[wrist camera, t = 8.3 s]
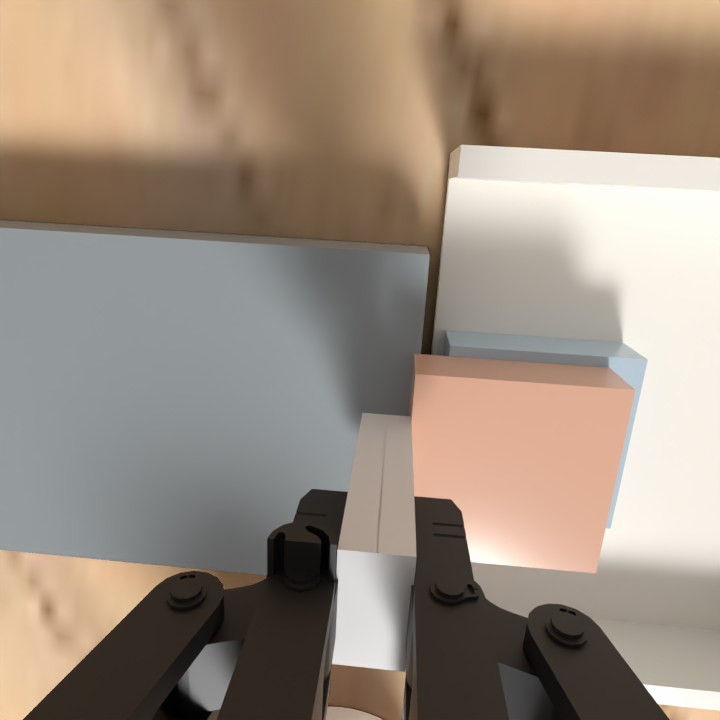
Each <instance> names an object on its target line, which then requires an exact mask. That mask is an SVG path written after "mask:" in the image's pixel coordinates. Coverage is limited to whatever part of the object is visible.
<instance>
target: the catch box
mask: <svg viewBox="0 0 720 720" xmlns="http://www.w3.org/2000/svg"><path fill="white" fill-rule="evenodd" d="M446 330H452V331H467V332H481V333H496V334H510V335H525V336H539V337H553V338H568V339H582V340H597V341H611V342H623V343H625V344H626V345H627V346H629V347H630V348H632V349H633V350H635V351H636V352H637V353H639V354H640V355H642V356H643V357H645V358H646V359H648V361H647V366H646V370H645V375H644V380H643V384H642V389H641V393H640V398H639V402H638V407H637V411H636V416H635V420H634V425H633V429H632V434H631V438H630V443H629V447H628V452H627V456H626V461H625V465H624V470H623V474H622V479H621V483H620V488H619V492H618V497H617V501H616V506H615V510H614V515H613V519H612V524H611V528H610V529H608V528H606V529H605V533H604V538H603V543H602V547H601V552H600V556H599V561H598V566H597V570H596V573H586V572H575V571H564V570H553V569H542V568H531V567H520V566H509V565H498V564H487V563H476V562H471V566H472V571H473V577H474V581H476V582H477V583H478V584H479V585H480V587H481V589H482V591H483V593H484V595H485V598H486V599H487V600H488V601H490V602H491V603H493V604H495V605H496V606H498V607H500V608H502V609H504V610H507V611H509V612H512V613H515V614H518V615H521V616H524V617H527V618H528V615H529V613H530V612H531V611H532V610H533V609H534V608H535V607H536V606H540V605H544V604H562V605H565V606H568V607H571V608H574V609H577V610H579V611H580V612H582V613H584V614H585V615H587V616H589V617H590V618H591V619H592V620H593V621H594V622H595V623H596V624H597V625H598V626H599V627H600V628H601V629H602V630H603V632H604V633H605V634H606V636H607V637H608V638H609V640H610V641H611V642H612V644H613V645H614V646H615V648H616V649H617V650H618V652H619V653H620V654H621V656H622V657H623V658H624V660H625V661H626V662H627V664H628V665H629V666H630V668H631V669H632V670H633V672H634V673H635V674H636V676H637V677H638V678H639V680H640V681H641V682H642V684H643V685H644V686H645V688H646V689H647V690H648V692H649V693H650V694H651V696H652V697H653V698H654V700H655V701H656V702H657V704H664V705H673V706H682V707H692V708H701V709H711V710H720V158H715V157H696V156H676V155H656V154H637V153H617V152H597V151H578V150H558V149H538V148H519V147H499V146H479V145H460V146H459V147H457V148H456V149H455V150H454V151H452V152H451V153H450V162H449V172H448V182H447V193H446V203H445V214H444V224H443V234H442V245H441V255H440V265H439V276H438V286H437V296H436V307H435V317H434V328H433V338H432V348H431V355H440V356H443V350H444V340H445V331H446Z"/></svg>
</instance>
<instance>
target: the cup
mask: <svg viewBox="0 0 720 720" xmlns="http://www.w3.org/2000/svg"><path fill="white" fill-rule="evenodd" d="M326 720H383V719H381V718H378V717H376V716H374V715H371V714H369V713H366V712H363V711H359V710H355V709H350V708H344V707H327V714H326Z"/></svg>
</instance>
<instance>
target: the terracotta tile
mask: <svg viewBox="0 0 720 720" xmlns="http://www.w3.org/2000/svg"><path fill="white" fill-rule="evenodd" d="M634 394H635V389H634V388H633V387H631V386H630V385H629V384H628V383H627V382H626V381H624V380H623V379H622V378H621V377H620V376H619V375H617V374H616V373H615V372H614V371H613V370H612V369H610V368H609V367H597V366H583V365H568V364H554V363H540V362H525V361H511V360H497V359H483V358H468V357H454V356H440V355H425V354H414V361H413V373H412V385H411V396H410V408H409V416H410V417H411V424H412V446H413V474H414V496H418V497H429V498H441V499H451V500H452V501H453V502H454V503H455V504H456V506H457V507H458V508H459V509H460V510H461V512H462V516H463V522H464V528H465V533H466V539H467V544H468V549H469V555H470V560H471V562H476V563H487V564H498V565H509V566H520V567H531V568H542V569H553V570H564V571H575V572H586V573H596V570H597V566H598V561H599V556H600V552H601V547H602V543H603V538H604V533H605V529H606V524H607V519H608V515H609V510H610V505H611V501H612V496H613V491H614V487H615V482H616V478H617V473H618V468H619V464H620V459H621V454H622V450H623V445H624V440H625V436H626V431H627V427H628V422H629V417H630V413H631V408H632V403H633V399H634Z"/></svg>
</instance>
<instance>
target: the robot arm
mask: <svg viewBox="0 0 720 720" xmlns="http://www.w3.org/2000/svg"><path fill="white" fill-rule="evenodd" d="M332 664H337V665H346V666H356V667H366V668H375V669H384V670H394V671H404V672H405V669H406V680H405V690H404V700H403V710H402V720H669V718H668V717H667V716H666V714H665V713H664V712H663V710H662V709H661V708H660V706H659V705H658V704H657V702H656V701H655V700H654V698H653V697H652V696H651V694H650V693H649V692H648V690H647V689H646V688H645V686H644V685H643V684H642V682H641V681H640V680H639V678H638V677H637V676H636V674H635V673H634V672H633V670H632V669H631V668H630V666H629V665H628V664H627V662H626V661H625V660H624V658H623V657H622V656H621V654H620V653H619V652H618V650H617V649H616V648H615V646H614V645H613V644H612V642H611V641H610V640H609V638H608V637H607V636H606V634H605V633H604V632H603V630H602V629H601V628H600V627H599V626H598V625H597V624H596V623H595V622H594V621H593V620H592V619H591V618H590V617H589V616H587V615H585V614H584V613H582V612H580V611H579V610H577V609H574V608H571V607H568V606H565V605H562V604H544V605H540V606H536V607H535V608H534V609H533V610H532V611H531V612H530V613H529V615H528V618H527V617H524V616H521V615H518V614H515V613H512V612H509V611H507V610H504V609H502V608H500V607H498V606H496V605H495V604H493V603H491V602H490V601H488V600H487V599H486V598H485V595H484V593H483V591H482V589H481V587H480V585H479V584H478V583H477V582H476V581H474V577H473V571H472V566H471V560H470V555H469V549H468V544H467V539H466V533H465V528H464V522H463V516H462V512H461V510H460V509H459V508H458V507H457V506H456V504H455V503H454V502H453V501H452V500H451V499H441V498H429V497H418V496H414V474H413V446H412V424H411V417H410V416H398V415H385V414H372V413H362V418H361V423H360V429H359V434H358V440H357V445H356V451H355V456H354V462H353V467H352V473H351V478H350V484H349V489H348V492H343V491H331V490H320V489H311V490H310V491H309V492H308V493H307V494H306V495H305V496H303V497H302V498H301V499H300V502H299V505H298V508H297V511H296V514H295V517H294V520H293V522H292V523H288V524H284V525H282V526H280V527H278V528H277V529H275V530H273V531H272V533H271V534H270V535H269V537H268V538H267V577H266V579H264V580H263V581H261V582H258V583H256V584H254V585H250V586H246V587H241V588H234V589H227V590H223V585H222V583H221V582H220V581H219V579H218V578H217V577H215V576H213V575H211V574H209V573H205V572H197V571H192V572H184V573H179V574H177V575H174V576H171V577H169V578H167V579H165V580H164V581H162V582H161V583H160V584H158V585H157V586H156V587H155V588H154V589H153V590H152V591H151V592H150V593H149V594H148V595H147V596H146V597H145V598H144V599H143V600H142V601H141V602H140V603H139V604H138V605H137V606H136V607H135V608H134V609H133V610H132V611H131V612H130V613H129V614H128V615H127V616H126V617H125V618H124V619H123V620H122V621H121V622H120V623H119V624H118V625H117V626H116V627H115V628H114V629H113V630H112V631H111V632H110V633H109V634H108V635H107V636H106V637H105V638H104V639H103V640H102V641H101V642H100V643H99V644H98V645H97V646H96V647H95V648H94V649H93V650H92V651H91V652H90V653H89V654H88V655H87V656H86V657H85V658H84V659H83V660H82V661H81V662H80V663H79V664H78V665H77V666H76V667H75V668H74V669H73V670H72V671H71V672H70V673H69V674H68V675H67V676H66V677H65V678H64V679H63V680H62V681H61V682H60V683H59V684H58V685H57V686H56V687H55V688H54V689H53V690H52V691H51V692H50V693H49V694H48V695H47V696H46V697H45V698H44V699H43V700H42V701H41V702H40V703H39V704H38V705H37V706H36V707H35V708H34V709H33V710H32V711H31V712H30V713H29V714H28V715H27V716H26V717H25V718H24V719H23V720H326V714H327V707H328V700H329V693H330V682H331V665H332Z"/></svg>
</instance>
